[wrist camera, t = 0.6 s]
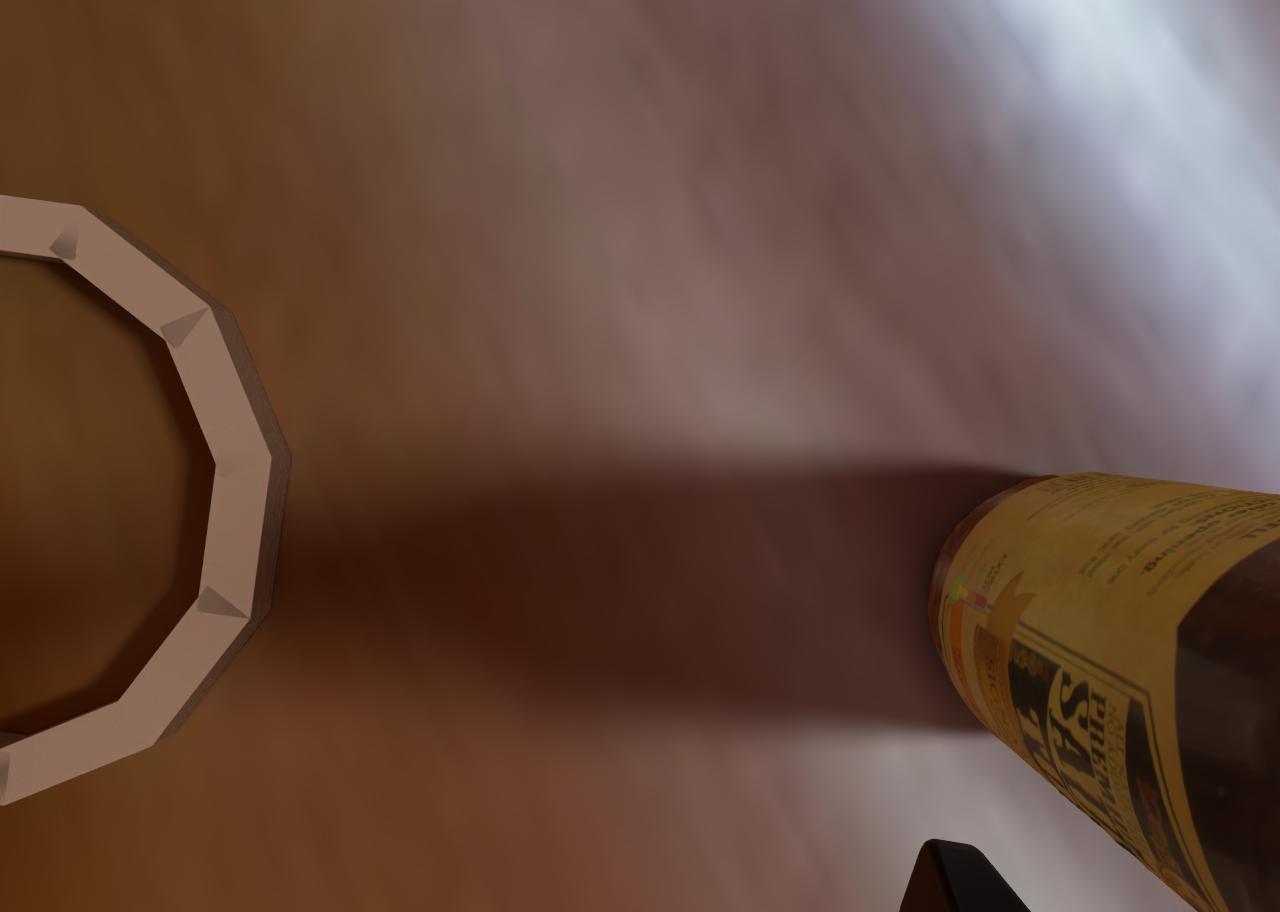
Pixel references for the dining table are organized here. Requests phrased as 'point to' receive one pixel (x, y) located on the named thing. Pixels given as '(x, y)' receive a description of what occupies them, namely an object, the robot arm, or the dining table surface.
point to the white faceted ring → (238, 505)
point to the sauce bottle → (1132, 664)
